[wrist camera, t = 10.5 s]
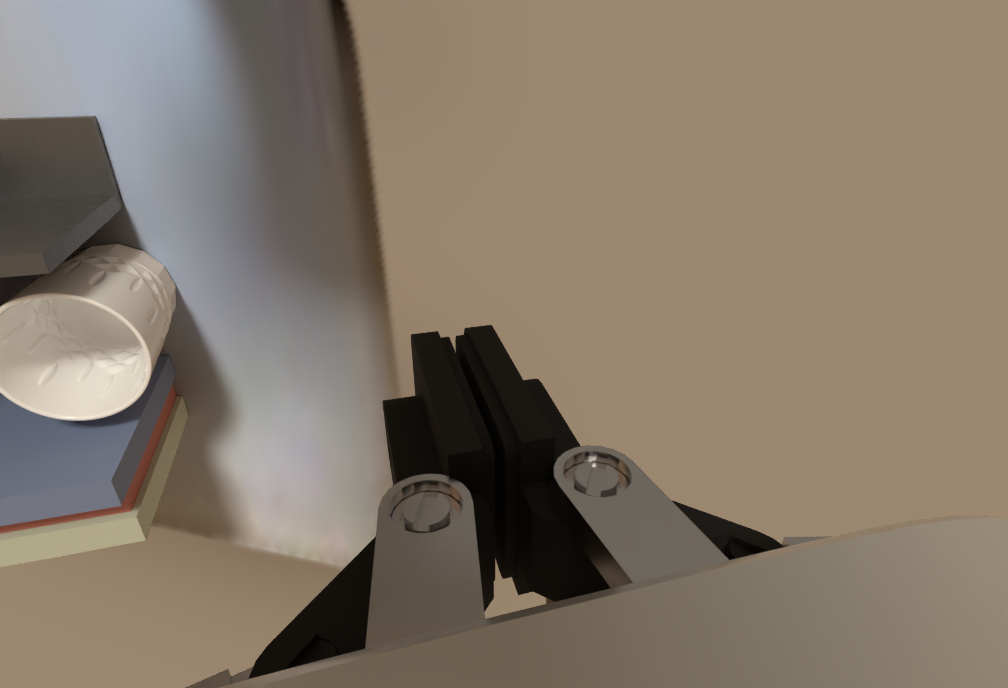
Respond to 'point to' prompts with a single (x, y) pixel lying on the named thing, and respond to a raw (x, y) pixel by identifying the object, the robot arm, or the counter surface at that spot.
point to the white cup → (86, 334)
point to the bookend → (51, 191)
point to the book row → (86, 474)
